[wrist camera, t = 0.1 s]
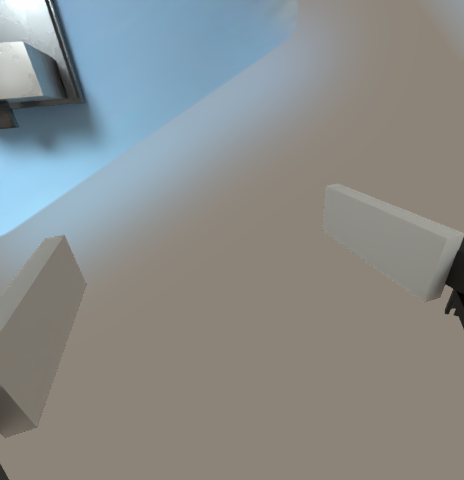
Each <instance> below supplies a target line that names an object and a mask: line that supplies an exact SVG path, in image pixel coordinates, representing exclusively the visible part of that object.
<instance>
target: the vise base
mask: <svg viewBox="0 0 464 480" xmlns="http://www.w3.org/2000/svg"><path fill="white" fill-rule="evenodd" d="M0 42H25V43H27V44H28V45H30V46H32V47H34V48H36V49H38V50H40V51H42V52H43V53H45V54H47V55H49V56H51V57H53V60H54V62H55V65H56V68H57V71H58V74H59V77H60V80H61V83H62V86H63V89H64V91H65V94H66V97H67V99H56V100H44V101H32V102H20V103H9V105H10V107H11V109H17V108H28V107H39V106H50V105H62V104H73V103H84V102H85V100H84V97H83V94H82V91H81V88H80V84H79V81H78V78H77V75H76V72H75V69H74V65H73V62H72V59H71V56H70V53H69V50H68V47H67V43H66V40H65V37H64V34H63V31H62V28H61V24H60V21H59V18H58V15H57V12H56V9H55V5H54V2H53V0H0Z"/></svg>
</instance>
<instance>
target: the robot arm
mask: <svg viewBox="0 0 464 480" xmlns="http://www.w3.org/2000/svg"><path fill="white" fill-rule="evenodd" d="M322 231H323V232H325V233H326V234H327V235H329V236H330V237H331V238H333V239H334V240H336V241H337V242H339V243H340V244H341V245H343V246H344V247H346V248H347V249H349V250H350V251H352V252H353V253H354V254H356V255H357V256H359V257H360V258H362V259H363V260H364V261H366V262H367V263H368V264H370V265H371V266H373V267H374V268H376V269H377V270H378V271H380V272H381V273H383V274H384V275H386V276H387V277H389V278H390V279H391V280H393V281H394V282H396V283H397V284H399V285H400V286H401V287H403V288H404V289H406V290H407V291H408V292H410V293H411V294H413V295H414V296H415V297H417V298H419V299H420V300H421V301H423V302H428V301H431V300H434V299H437V298H440V297H441V294H442V291H443V289H444V286H445V284H446V285H448V286H450V287H451V288H453V291H452V294H451V296H450V299H449V301H448V303H447V306H446V308H445V314H449V312H450V310H451V309H452V308H455V309H456V310H455V313H454V315H455V316H459V318H460V321H461V323H462V326H463V328H464V233H462V232H459V231H456V230H454V229H452V228H449V227H446V226H444V225H442V224H439V223H436V222H434V221H431V220H429V219H426V218H423V217H421V216H419V215H416V214H414V213H411V212H409V211H406V210H404V209H401V208H399V207H396V206H393V205H391V204H388V203H386V202H383V201H381V200H378V199H376V198H373V197H371V196H368V195H366V194H363V193H360V192H358V191H355V190H353V189H350V188H348V187H345V186H343V185H340V184H335V185H329V186H326V194H325V205H324V216H323V227H322ZM86 285H87V284H86V282H85V280H84V277H83V275H82V273H81V271H80V268H79V266H78V264H77V262H76V260H75V257H74V255H73V253H72V251H71V249H70V246H69V244H68V242H67V240H66V237H65V235H62V236H57V237H51V238H46V239H44V241H43V242H42V243H41V245H40V246H39V247H38V248H37V250H36V251H35V252H34V253H33V255H32V256H31V257H30V259H29V260H28V261H27V263H26V264H25V265H24V266H23V268H22V269H21V270H20V271H19V273H18V274H17V275H16V276H15V278H14V279H13V280H12V282H11V283H10V284H9V285H8V286H7V288H6V289H5V290H4V292H3V293H2V294H1V295H0V433H1V434H2V435H3V436H4V437H5V438H7V437H10V436H12V435H16V434H19V433H22V432H25V431H28V430H31V429H34V428H37V427H38V424H39V421H40V418H41V415H42V412H43V409H44V406H45V403H46V401H47V398H48V395H49V392H50V389H51V386H52V383H53V380H54V377H55V375H56V372H57V369H58V366H59V363H60V360H61V357H62V354H63V352H64V349H65V346H66V342H67V340H68V337H69V334H70V331H71V328H72V326H73V323H74V320H75V317H76V314H77V311H78V308H79V305H80V302H81V299H82V297H83V294H84V290H85V288H86ZM0 480H9V479H8V477H7V475H6V473H5V472H4V470H3V468H2V466H1V465H0Z"/></svg>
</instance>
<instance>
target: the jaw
mask: <svg viewBox="0 0 464 480" xmlns="http://www.w3.org/2000/svg"><path fill="white" fill-rule="evenodd" d="M56 99H67V97H66V94H65V91H64V89H63V86H62V83H61V80H60V77H59V74H58V71H57V68H56V65H55V62H54V60H53V57H51V56H49V55H47V54H45V53H43V52H42V51H40V50H38V49H36V48H34V47H32V46H30V45H28V44H27V43H25V42H0V129H7V128H16V127H19V125H18V123H17V121H16V118H15V116H14V114H13V112H12V109H11V107H10V105H9V103H20V102H32V101H44V100H56Z"/></svg>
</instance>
